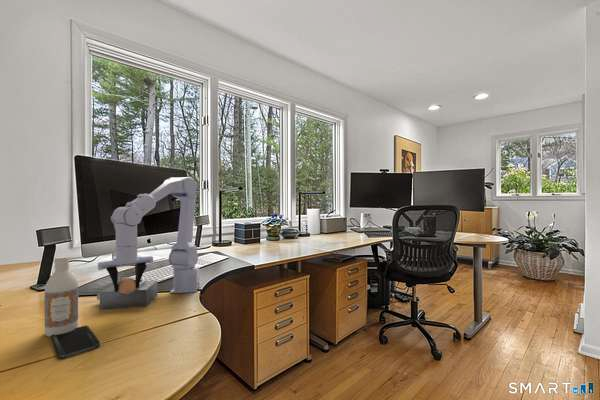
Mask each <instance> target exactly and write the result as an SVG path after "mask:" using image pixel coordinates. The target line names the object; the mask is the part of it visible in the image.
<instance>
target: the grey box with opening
mask: <svg viewBox="0 0 600 400" xmlns="http://www.w3.org/2000/svg"><path fill="white" fill-rule="evenodd" d="M118 283H119V281H118ZM157 297H158V280H155V279H154V280H153V279H152V280H147V279H145V278H144V279H142V278H141V280H140V284H139V288H135V289H134V291H133V292H131V293H129V294H122V293H120V292H119V291H118V292H115V291H114V285H113V283H112V284H110V285H109V286H108V287H106V288H104V289H103V290H100V291H99V292H98V293H97V294H96V300H97V301H99V310H109V309H110V310H111V309H124V308H125V309H128V308H146V307H148V306H149V305H150V304H151V303H152V302H153V301H154V300H155V299H156V298H157Z"/></svg>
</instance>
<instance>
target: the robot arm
mask: <svg viewBox="0 0 600 400" xmlns="http://www.w3.org/2000/svg"><path fill="white" fill-rule="evenodd" d="M197 188H198V184H197V182H196V181H195V179H194V178H193V177H192V176H185V177H183V176H182V177H172V176H170V177H169V178H167V179H165V180H164V181H163V183H162V184H161V185H159V186H158V187H156V188H155V189H154V190H153V191H151V192H150V193H140V194H137V195H136V198H135V199H133V200H132V201H128V202H127V203H125V206H120V207H117V208H115V209H114V210H113V213H112V215H111V216H110V220H111V222H112V224H113V226H114V230H115V259H112V260H105V261H99V262H97V269H98V271H102V270H106V271H107V273H108V275H109V277H110V279H111V281H112V284H113V285H114V291H115V292H118V282H119V281H118V275H119V271H118V268H121V267H129V266H134V269H135V279H134V280H135V282H136V288H139V284H140V280H142V277H143V274H145V273H144V272H145V270H146V269H147V264H153V263H154V257H153V256H152V255H150V256H149V255H148V256H138V225H139V224H141V221H142V219H143V217H144V216H145V215H147V214H148V213H149V212H150V211H152V210H153V209H155V207H156V204H157V202H159V201H160V200H162V199H163V198H165V197H166V196H168V195H172V196H173V197H174V198H176V199H178V201H180V209H179V210H180V212H179V221H178V231H177V240H176V242H175V243H174V244H173V245H171V250H170V252H169V255H168V262H169V265H171V268H172V269H173V276H172V277H173V279H172V280H173V285H172V286H173V288H172V289H171V290H170V291H169V293H170V294H184V293H185V294H186V293H187V294H188V293H196V292H197V291H198V290H199V288H200V287H201V286H200V285H201V283H200V282H201V281H200V277H201V276H200V267H199V266H196V265H197V263H198V260H199V256H198V255H199V254H198V247H197V245H195V244H194V243H193V234H194V225H195V224H194V223H195V213H196V203H197V201H196V200H197ZM198 287H199V288H198ZM197 289H198V290H197Z"/></svg>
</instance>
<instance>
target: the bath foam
mask: <svg viewBox="0 0 600 400" xmlns="http://www.w3.org/2000/svg"><path fill="white" fill-rule="evenodd" d="M69 261H70V256H67V255H66V256H65V255H63V256H56V257H55V258H54V272H53V273H52V274H51V275H50V277H49V279H48V280H47V281H46V284H45V286H44V287H45V288H44V334H45V336H47V337H50V338H51V335H59V334H63V333H67V332H70V331H72V330H74V329H75V328H78V327H79V282H78V280H77V277H76V276H75V275H74V274H73V273H72V271H71V270H70V269H69V268H70V262H69Z"/></svg>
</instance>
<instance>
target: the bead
mask: <svg viewBox="0 0 600 400" xmlns="http://www.w3.org/2000/svg"><path fill="white" fill-rule="evenodd" d="M118 282H119V283H118V291H119V292H120V293H122V294H129V293H131V292H133V291H134V289H135V288H136V282H135V279H134V278H132V277H129V276H128V277H127V276H126V277H123V278H121V279H120V280H119V281H118Z"/></svg>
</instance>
